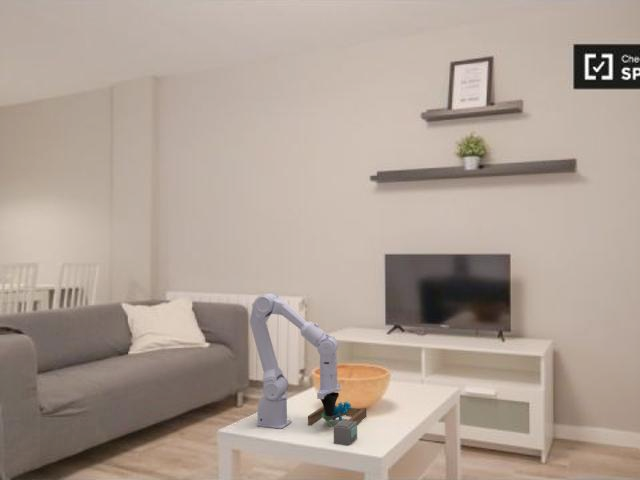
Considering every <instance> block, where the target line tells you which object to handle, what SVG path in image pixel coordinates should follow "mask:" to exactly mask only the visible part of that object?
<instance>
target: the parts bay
mask: <svg viewBox="0 0 640 480" xmlns="http://www.w3.org/2000/svg"><path fill="white" fill-rule="evenodd" d="M335 406H339V405H336V404H335ZM350 408H351V409H349V410H347V411H348V412H347V413H343V414H342V415H346V416H345V417H350V418H349V419H348V420H347V421H354V422H357V426H358V425H359V424H361V422H363V421H364V420H365V419H366V418H367V408H365V407H355V406H352V405H351V406H350ZM322 413H325V410H324V406H323V405H321V407H319V408H318V409H316V410H315V411H314V412H311V413H310V414H309V415H307V426H313V425H314V424H316V423H317V422H319V421H320V420H321V419H323V418H322V415H321V414H322ZM351 416H353V417H351ZM365 417H366V418H365ZM364 418H365V419H364ZM363 419H364V420H363ZM362 420H363V421H362Z"/></svg>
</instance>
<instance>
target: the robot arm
mask: <svg viewBox="0 0 640 480" xmlns="http://www.w3.org/2000/svg"><path fill="white" fill-rule="evenodd" d="M251 305H252V308H251V314H250V317H249V324H250V328H251V331H252V334H253V339H254V341H255V347H256V349H257V354H258V356H259V361H260V363H261V367H262V371H263V375H262V384H263V387H262V392H263V393H262V394H263V396H261V397H260V398H259V400H258V402H257V424H256V426H257V427H266V428H272V429H283V428H284V427H287V426H288V425H289V424H291V423H292V421H293V420H290V419H288V405H287V403H288V398H287V394H286V391H288V388H289V381H288V379H287V377H286V376H285V374H284V372H283V370H282V369H281V368H280V367H279V364H278V361H277V357H276V353H275V350H274V345H273V342H272V339H271V336H270V332H269V329H268V325H267V322H268V320H269V318H270V317H271V315H277V316H278V315H279V316H283V317H284V318H285V319H286V320H288V321H289V322H290V323H291V324H293V325H294V326H295V327H297V329H299V330H300V335H301V337H303V338H304V339H305V340H306V341H308V342H309V344H311V345H312V346H313V347H314V348H317V352H318V354H319V388H318V392H317V393H316V397H317V398H316V399H317V400H320V401H321V404H322V406H324V410H325V414H326V416H333V413H334V408H335V405H336V402H337V400H338V398H339V395H340V393H339V392H341V390H342V388H341V383H340V382H338V358H337V357H338V356H337V350H338V348H339V342H338V340H336V338H335V337H334V336H332V335H330V334H329V332H325V331H324V330H322V329H321V328H320V327H319V325H320V324H318V323H317V322H315V323H314V321H307V320H306V319H304V318H303V317H302V316H301V315H300V313H298V312H297V311H296V310H295V309H294V308H292V306H291V305H290V304H289V303H288V302H286V301H285V299H283V297H279V295H278V294H277V293H275V292H268V293H266V294H260V295H258V296H257V297H256V298H255V299H254V301H253V302H252V304H251Z"/></svg>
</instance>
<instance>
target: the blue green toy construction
mask: <svg viewBox="0 0 640 480" xmlns="http://www.w3.org/2000/svg"><path fill="white" fill-rule="evenodd" d="M350 406H351V407H352V404H351V403H349V402H348V401H344V402H343V403H342V402H338V406H335V408H334V413H333V416H326V414H325V413H322V414H321V415H322V418H321V419H323V420H325V422H327V423H328V425H329V427H332V426H333V425H332V423H331V420H337V418H338V419H339V422H340V421H342V420H344V419H343V417H344V416H343V415H342V414H343V413H347V412H348V411H347V410H349V409H351V408H350Z"/></svg>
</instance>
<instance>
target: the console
mask: <svg viewBox="0 0 640 480" xmlns="http://www.w3.org/2000/svg"><path fill="white" fill-rule="evenodd" d="M356 439H358V425H357V422H354V421H348V420H344V419H343V420H342V421H340V420H339V422H337V424H335V425H333V444H335V445H336V444H337V445H342V446H350V445H351V444H353V443H354V442H355V440H356Z"/></svg>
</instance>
